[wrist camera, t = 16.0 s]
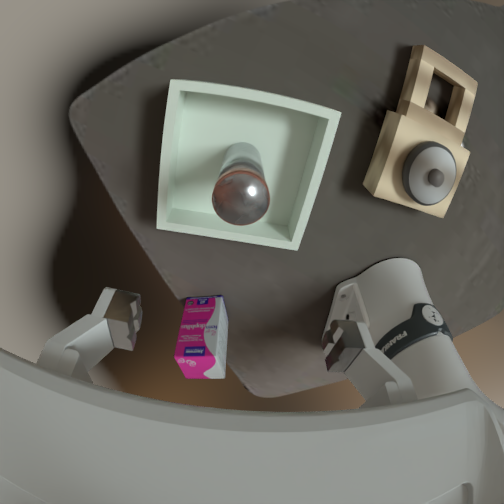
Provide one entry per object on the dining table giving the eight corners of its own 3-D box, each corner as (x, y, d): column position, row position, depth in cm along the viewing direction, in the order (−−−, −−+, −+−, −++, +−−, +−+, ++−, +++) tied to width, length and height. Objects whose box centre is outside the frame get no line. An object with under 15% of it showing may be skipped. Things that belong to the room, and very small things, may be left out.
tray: (291, 230, 36) (297, 250, 32) (166, 210, 33) (156, 228, 30) (328, 107, 27) (341, 112, 23) (181, 79, 25) (170, 79, 21)
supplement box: (222, 293, 42) (217, 357, 32) (228, 319, 45) (226, 380, 35) (185, 295, 42) (172, 358, 32) (194, 321, 45) (186, 380, 36)
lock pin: (257, 180, 31) (263, 229, 21) (220, 174, 30) (208, 220, 21) (265, 145, 28) (275, 178, 19) (226, 138, 28) (216, 168, 19)
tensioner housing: (430, 206, 34) (452, 227, 29) (362, 184, 32) (382, 205, 27) (471, 84, 23) (500, 91, 18) (404, 41, 21) (433, 38, 16)
